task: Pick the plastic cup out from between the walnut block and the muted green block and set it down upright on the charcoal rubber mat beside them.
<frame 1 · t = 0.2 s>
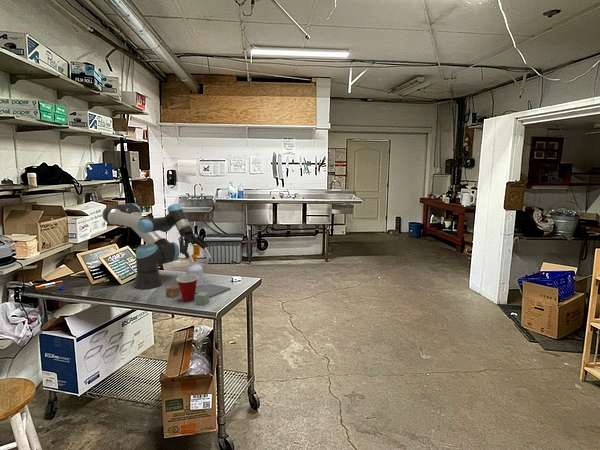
hand: (200, 260, 210), 16 cm above the table, tool tilted 35°, fingers open, 13 cm apart
plastic cup: (188, 300, 192), on the table
charcoal mat: (209, 291, 205), on the table
soap bottle: (195, 285, 216), on the table
green block: (202, 303, 187), on the table
walnut block: (173, 296, 197), on the table
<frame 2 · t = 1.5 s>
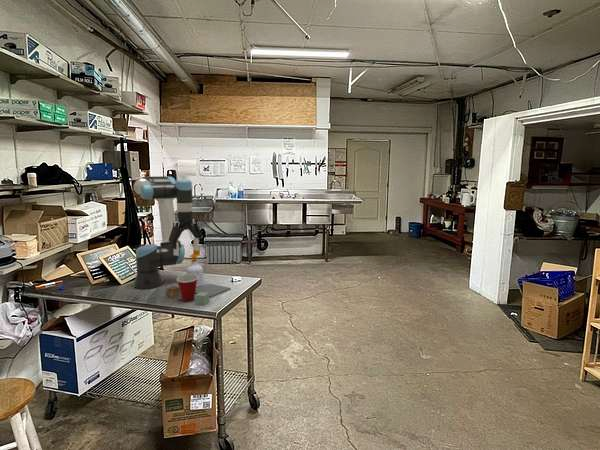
hand: (186, 252, 188), 25 cm above the table, tool pointing down, fingers open, 13 cm apart
nothing on the table moved.
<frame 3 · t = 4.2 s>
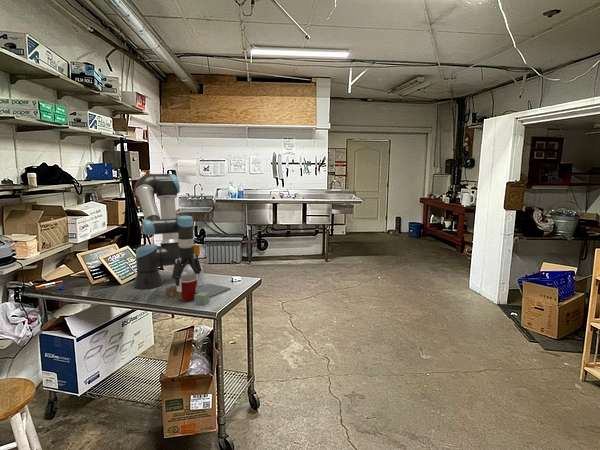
hand: (187, 288, 191), 6 cm above the table, tool pointing down, fingers closed on plastic cup, 11 cm apart
plastic cup: (188, 300, 192), on the table, touching gripper
everything else where it was.
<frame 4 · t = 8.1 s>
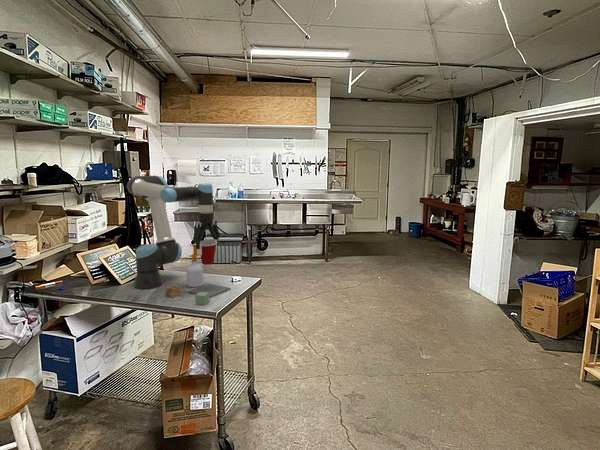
hand: (207, 252, 201), 22 cm above the table, tool pointing down, fingers closed on plastic cup, 11 cm apart
plastic cup: (207, 263, 202), point 16 cm above the table, touching gripper
everything else where it was.
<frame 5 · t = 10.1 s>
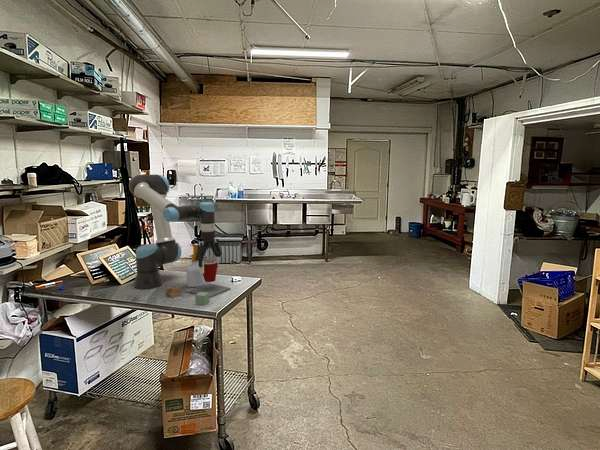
hand: (209, 270, 204), 12 cm above the table, tool pointing down, fingers closed on plastic cup, 11 cm apart
plastic cup: (209, 281, 204), point 6 cm above the table, touching gripper
everything else where it was.
when the fingers open (8 cm above the table, at t = 11.9 s): plastic cup stays where it is, resting on charcoal mat.
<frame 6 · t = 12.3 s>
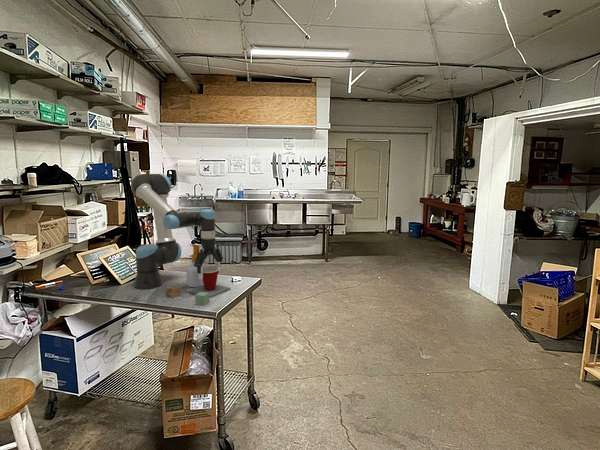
hand: (209, 275, 204), 9 cm above the table, tool pointing down, fingers open, 13 cm apart
plastic cup: (209, 289, 205), point 1 cm above the table, touching charcoal mat
everything else where it was.
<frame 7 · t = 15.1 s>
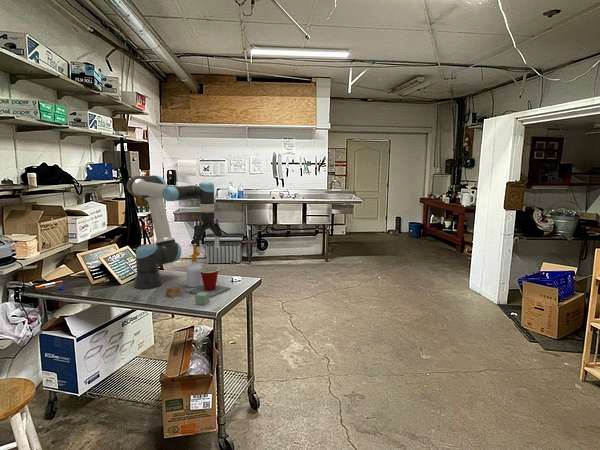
hand: (208, 250, 202), 23 cm above the table, tool pointing down, fingers open, 13 cm apart
nothing on the table moved.
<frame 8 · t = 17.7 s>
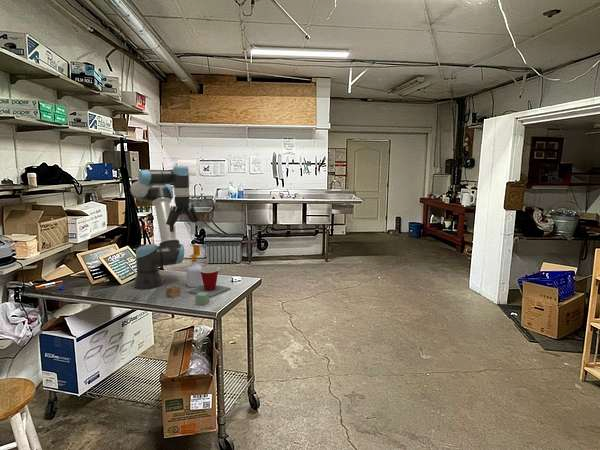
hand: (183, 236, 196), 32 cm above the table, tool pointing down, fingers open, 13 cm apart
nothing on the table moved.
at the end: plastic cup inside the target area on the charcoal mat (0.2 cm from its centre), point 0.8 cm above the charcoal mat's base; plastic cup tilted 0°; the gripper is holding nothing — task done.
